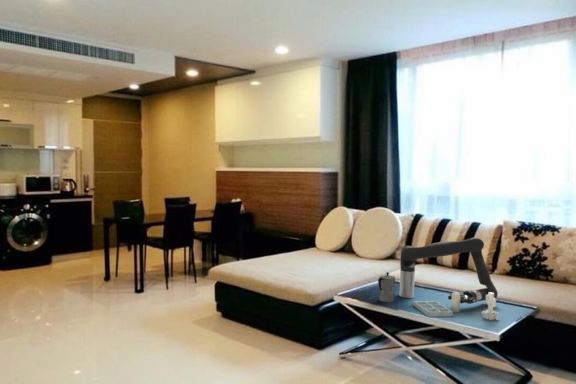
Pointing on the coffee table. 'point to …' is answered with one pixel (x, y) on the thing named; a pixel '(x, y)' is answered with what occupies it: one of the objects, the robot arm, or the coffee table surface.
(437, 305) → the muffin tray
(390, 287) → the coffeepot
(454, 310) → the white tall cylinder
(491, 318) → the figurine
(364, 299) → the coffee table surface
